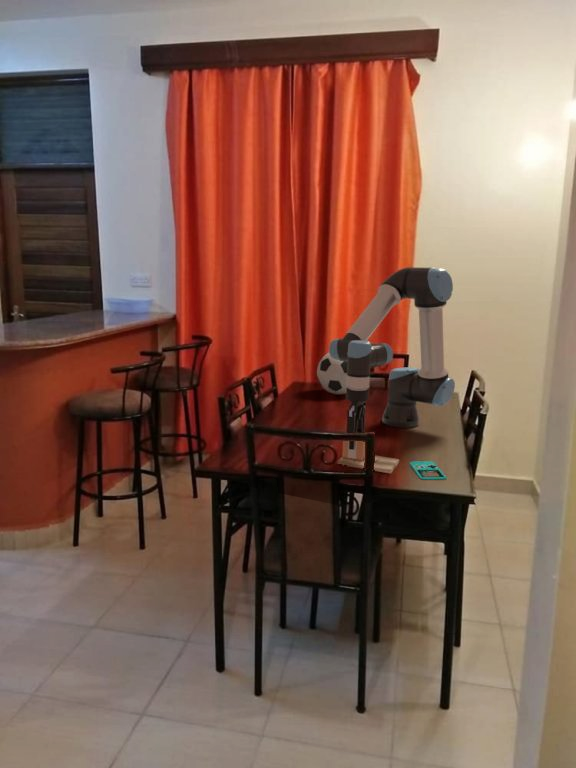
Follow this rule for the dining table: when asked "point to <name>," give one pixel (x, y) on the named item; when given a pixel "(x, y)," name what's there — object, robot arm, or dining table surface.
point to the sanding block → (360, 451)
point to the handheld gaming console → (427, 466)
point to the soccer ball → (332, 375)
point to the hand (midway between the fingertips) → (354, 455)
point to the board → (380, 463)
